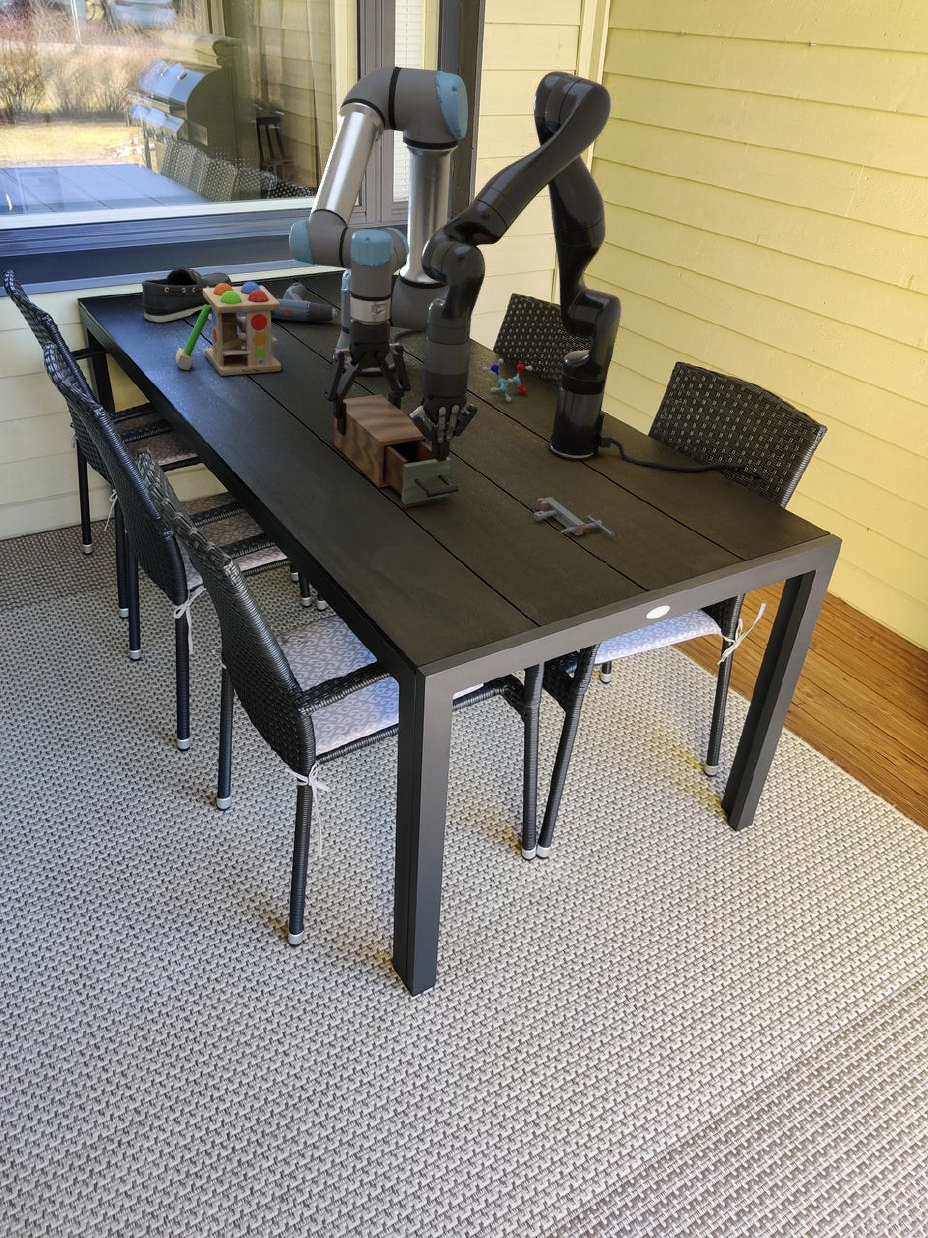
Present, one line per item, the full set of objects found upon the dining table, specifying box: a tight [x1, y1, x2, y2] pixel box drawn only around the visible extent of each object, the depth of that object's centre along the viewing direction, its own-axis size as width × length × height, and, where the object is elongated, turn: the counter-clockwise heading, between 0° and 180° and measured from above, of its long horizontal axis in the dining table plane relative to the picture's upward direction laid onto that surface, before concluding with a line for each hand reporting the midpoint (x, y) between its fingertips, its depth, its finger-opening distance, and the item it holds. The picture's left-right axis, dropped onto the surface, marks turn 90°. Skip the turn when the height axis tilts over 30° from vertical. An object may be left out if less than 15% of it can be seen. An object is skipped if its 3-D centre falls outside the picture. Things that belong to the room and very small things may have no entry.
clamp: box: [533, 496, 615, 537], centre depth 178 cm, size 15×2×10 cm
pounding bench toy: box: [174, 281, 282, 377], centre depth 225 cm, size 23×14×18 cm, turn 116°
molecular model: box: [482, 358, 533, 403], centre depth 227 cm, size 12×10×10 cm
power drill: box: [271, 282, 338, 322], centre depth 265 cm, size 5×19×20 cm
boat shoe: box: [141, 266, 234, 323], centre depth 261 cm, size 13×33×10 cm, turn 147°
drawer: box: [383, 440, 459, 505], centre depth 183 cm, size 26×9×7 cm, turn 30°
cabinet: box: [333, 394, 430, 488], centre depth 192 cm, size 21×10×9 cm, turn 30°
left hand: (366, 428), depth 196 cm, fingers closed on cabinet, 10 cm apart
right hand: (439, 459), depth 172 cm, fingers closed
